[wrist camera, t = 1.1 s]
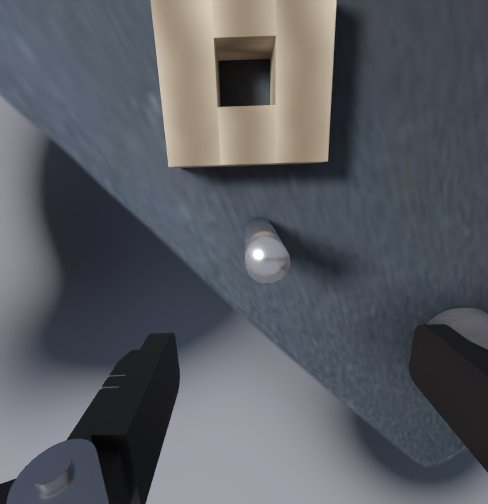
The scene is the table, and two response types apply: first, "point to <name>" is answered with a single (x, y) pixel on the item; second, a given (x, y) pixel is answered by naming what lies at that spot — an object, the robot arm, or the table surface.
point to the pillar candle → (466, 323)
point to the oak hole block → (245, 48)
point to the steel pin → (264, 252)
